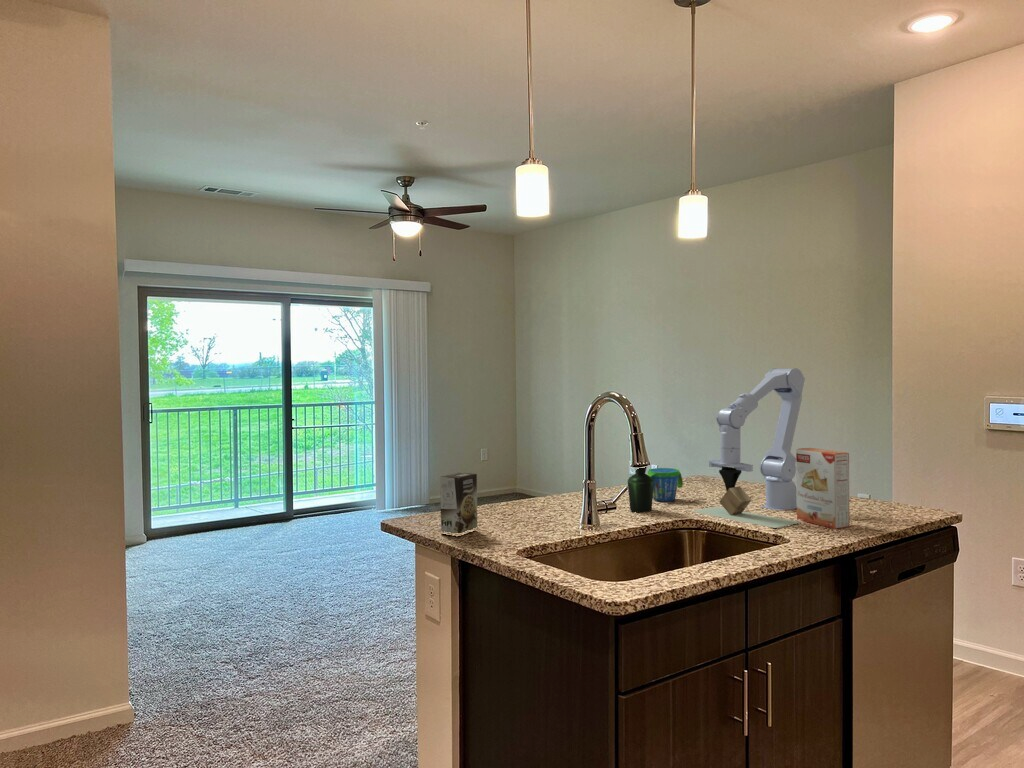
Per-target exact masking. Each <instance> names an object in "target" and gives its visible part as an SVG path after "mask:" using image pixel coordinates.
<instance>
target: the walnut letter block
mask: <svg viewBox="0 0 1024 768" xmlns="http://www.w3.org/2000/svg"><path fill="white" fill-rule="evenodd" d="M751 501H752V498H751V497H750V496H749V495H748V494H747V493H746V491H745V490H744V489H743V488H742V487H741V486H735V487H733V488H729V489H728V490H727V491H725V493H724V494H723V496H722V497H721V499H720V500H719V502H718V503H719V504H720V505H721V506H722V508H725V509H726V511H727V512H728V513H729V514H730V515H735V514H740V513H742V512H745V510H746V508H747V507H748V505H749V504H750V503H751Z"/></svg>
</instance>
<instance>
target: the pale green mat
mask: <svg viewBox="0 0 1024 768" xmlns="http://www.w3.org/2000/svg"><path fill="white" fill-rule="evenodd" d="M689 512H691V513H697V514H701V515H706V516H707V515H708V516H711V517H716V518H717V517H718V518H723V519H728V520H732V521H738V522H743V523H747V524H752V525H753V524H754V525H759V526H762V527H769V528H779V527H783V528H785V527H784V526H788V525H792V526H794V525H793V524H796V525H798V524H797V523H802V522H801V521H797V520H791V519H787V518H781V517H780V518H779V517H776V516H775V517H774V516H769V515H763V514H758V513H753V512H748V511H747V512H746V511H743V512H742V513H740V514H735V515H730V514H729V513H728V512H727V511H726V509H725V508H724V507H720V506H712V507H705V508H700V509H696V510H690V511H689ZM788 527H789V526H788ZM779 529H780V528H779Z"/></svg>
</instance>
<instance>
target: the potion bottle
mask: <svg viewBox="0 0 1024 768" xmlns="http://www.w3.org/2000/svg"><path fill="white" fill-rule="evenodd" d="M649 466H651V464H650V462H649ZM647 468H648V466H647V467H645V468H639V469H637V470H636V471H635V474H633V475H631V476H629V477H628V479H627V488H628V490H627V491H628V499H629V502H628V503H629V510H630V512H632V513H634V512H636V513H635V514H641V513H648V512H652V510H653V509H652V508H653V501H654V499H653V487H654V480H653V479H652V478H651V477H650V476H648V475H647V474H648V473H647V474H646V471H647Z"/></svg>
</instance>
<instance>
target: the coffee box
mask: <svg viewBox="0 0 1024 768" xmlns="http://www.w3.org/2000/svg"><path fill="white" fill-rule="evenodd" d="M477 476H478V474H477V473H473V472H471V473H470V472H469V473H468V472H457V473H451V474H447V475H442V476H440V532H441V531H445V532H451V533H462V532H465V531H467V530H471V529H473V528H476V527H477V528H478V481H477V480H478V477H477Z"/></svg>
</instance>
